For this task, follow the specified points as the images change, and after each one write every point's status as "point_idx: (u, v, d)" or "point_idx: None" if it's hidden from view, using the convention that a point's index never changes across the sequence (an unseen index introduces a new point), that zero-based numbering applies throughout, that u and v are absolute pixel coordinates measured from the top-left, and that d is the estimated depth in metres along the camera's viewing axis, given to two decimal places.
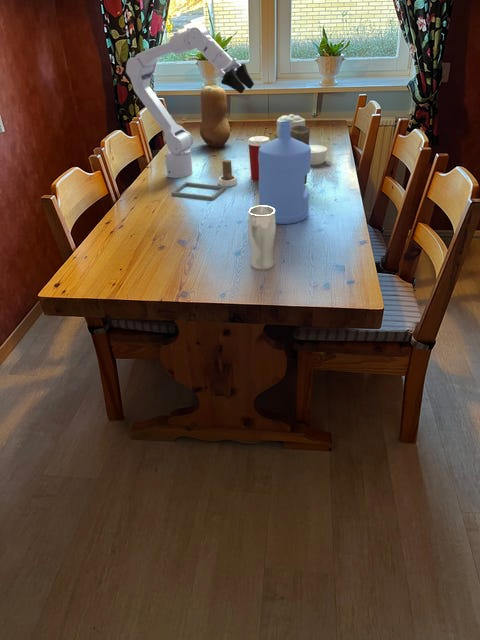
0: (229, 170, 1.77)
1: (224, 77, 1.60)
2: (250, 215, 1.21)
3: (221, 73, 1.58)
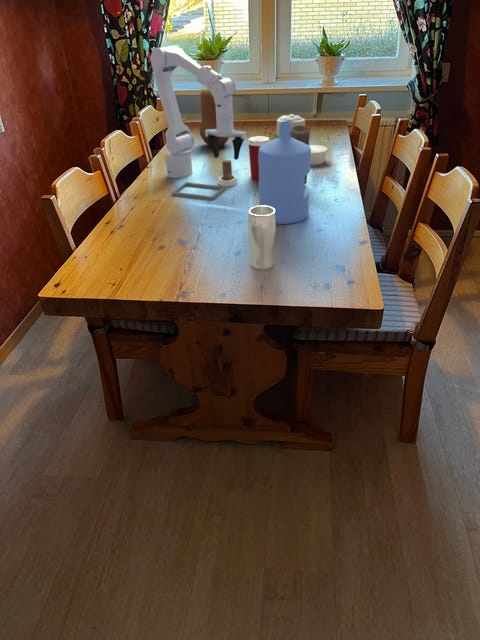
0: (229, 170, 1.77)
1: None
2: (250, 215, 1.21)
3: None
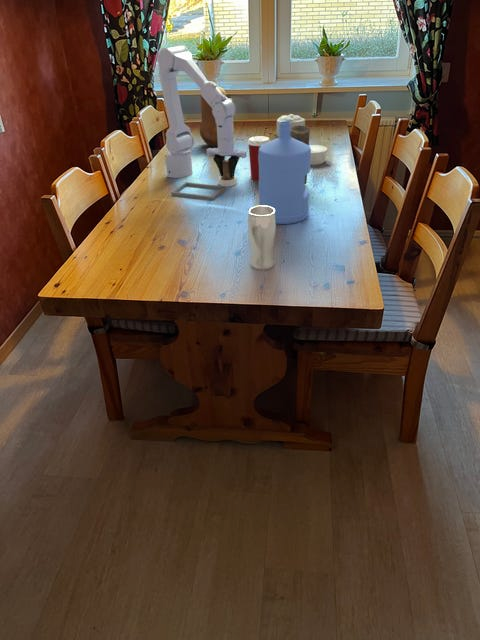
0: (229, 170, 1.77)
1: None
2: (250, 215, 1.21)
3: None
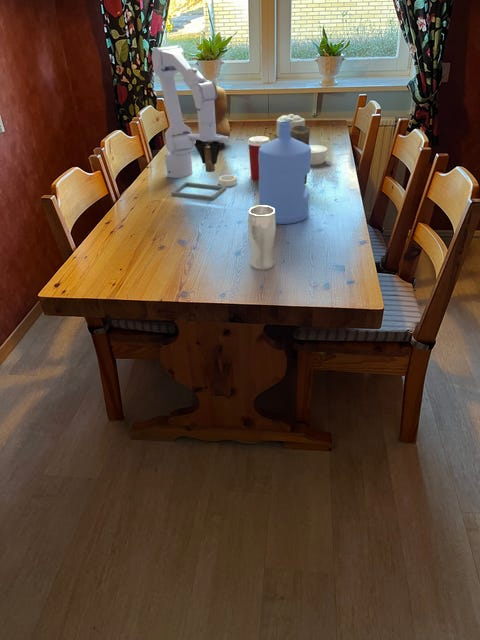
0: (211, 156, 1.69)
1: None
2: (250, 215, 1.21)
3: None
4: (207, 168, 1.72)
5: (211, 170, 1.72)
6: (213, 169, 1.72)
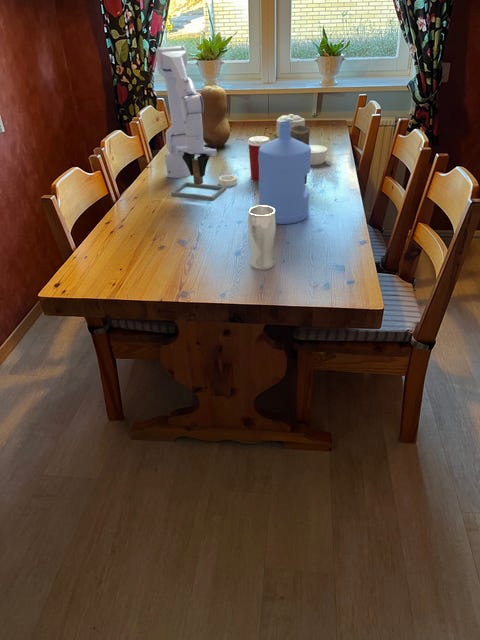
0: (199, 169, 1.68)
1: None
2: (250, 215, 1.21)
3: None
4: (195, 180, 1.71)
5: (199, 182, 1.71)
6: (201, 181, 1.71)
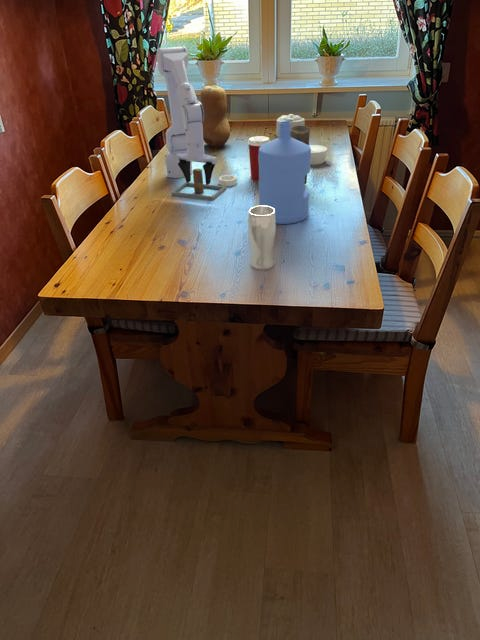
0: (200, 179, 1.70)
1: None
2: (250, 215, 1.21)
3: None
4: (196, 190, 1.73)
5: (200, 192, 1.73)
6: (202, 191, 1.73)
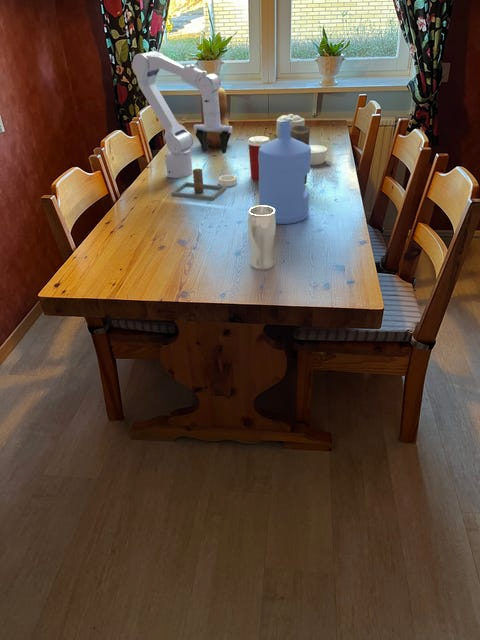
0: (200, 179, 1.70)
1: None
2: (250, 215, 1.21)
3: None
4: (196, 190, 1.73)
5: (200, 192, 1.73)
6: (202, 191, 1.73)
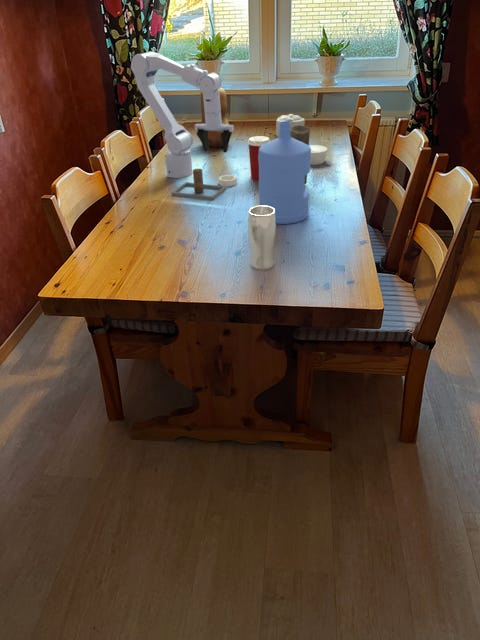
0: (200, 179, 1.70)
1: None
2: (250, 215, 1.21)
3: None
4: (196, 190, 1.73)
5: (200, 192, 1.73)
6: (202, 191, 1.73)
